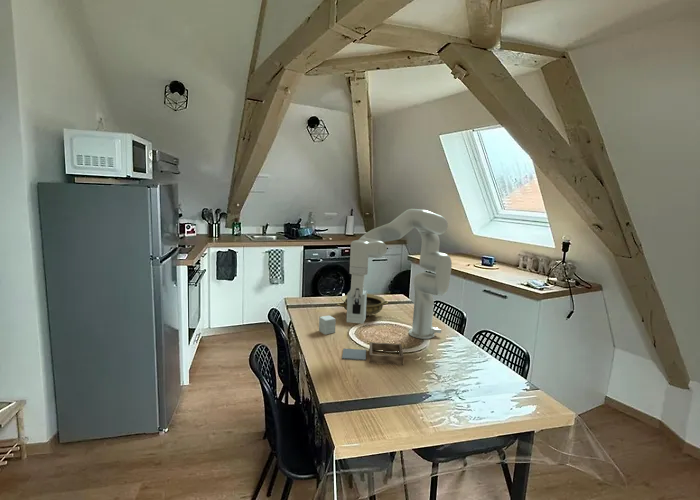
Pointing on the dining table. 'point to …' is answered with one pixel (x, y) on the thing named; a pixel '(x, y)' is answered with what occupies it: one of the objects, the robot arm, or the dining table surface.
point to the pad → (354, 354)
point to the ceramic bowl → (368, 304)
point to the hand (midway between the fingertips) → (356, 310)
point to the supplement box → (362, 316)
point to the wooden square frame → (386, 358)
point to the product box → (327, 324)
